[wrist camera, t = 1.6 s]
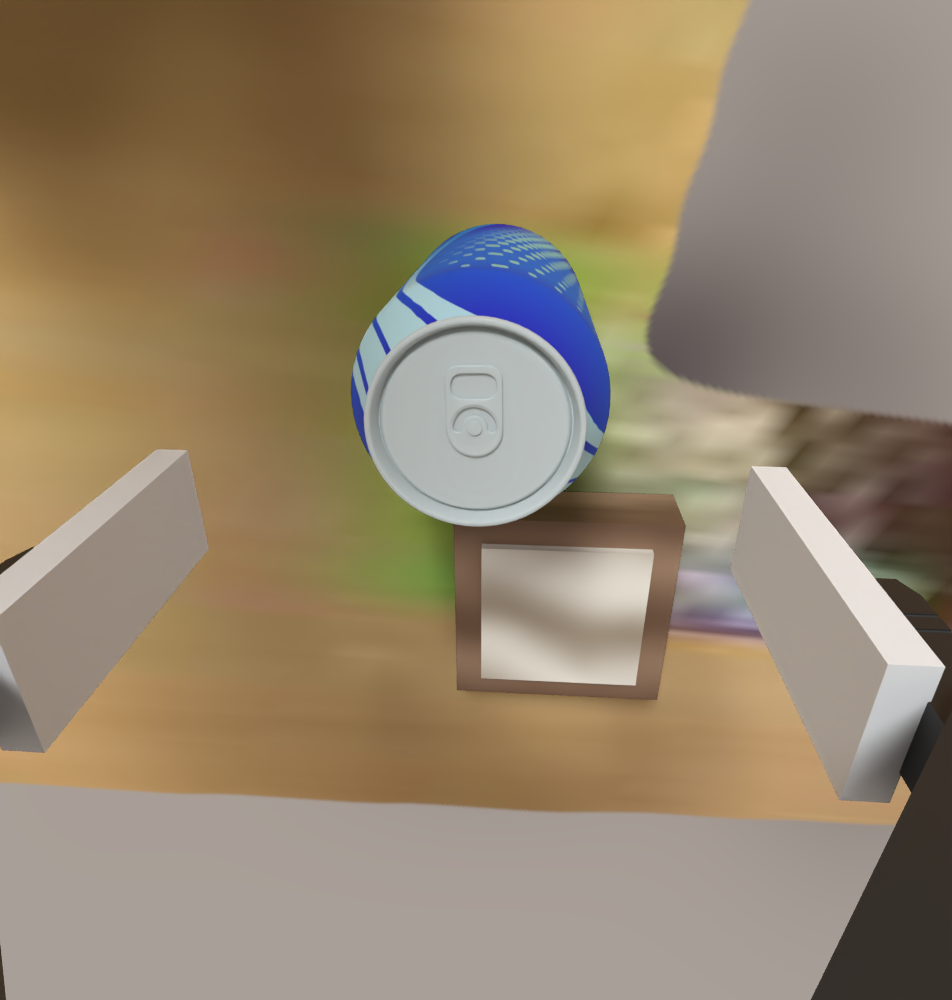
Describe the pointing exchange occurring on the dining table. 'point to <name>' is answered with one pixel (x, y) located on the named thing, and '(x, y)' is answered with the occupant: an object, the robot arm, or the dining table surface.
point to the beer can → (483, 380)
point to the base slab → (569, 597)
